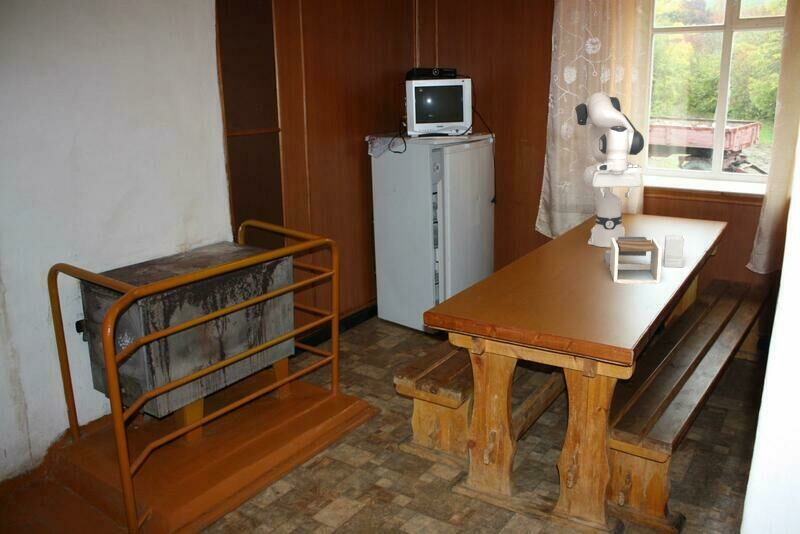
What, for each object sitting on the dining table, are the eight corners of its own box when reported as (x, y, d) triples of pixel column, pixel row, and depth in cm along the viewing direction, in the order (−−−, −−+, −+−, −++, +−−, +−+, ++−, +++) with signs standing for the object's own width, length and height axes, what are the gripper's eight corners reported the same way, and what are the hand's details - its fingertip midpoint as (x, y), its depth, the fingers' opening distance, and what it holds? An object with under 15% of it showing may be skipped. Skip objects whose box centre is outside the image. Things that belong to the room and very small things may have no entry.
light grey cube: (605, 261, 311) (605, 250, 310) (617, 261, 311) (617, 250, 309) (606, 264, 307) (606, 253, 305) (618, 264, 306) (618, 253, 304)
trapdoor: (613, 252, 300) (614, 236, 298) (648, 252, 297) (649, 236, 295) (618, 265, 281) (619, 248, 279) (655, 265, 279) (656, 248, 277)
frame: (609, 268, 300) (610, 237, 296) (652, 269, 296) (654, 237, 292) (614, 283, 281) (615, 249, 277) (660, 283, 277) (662, 249, 273)
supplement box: (681, 263, 303) (683, 235, 300) (682, 268, 296) (684, 239, 293) (663, 262, 305) (665, 234, 302) (663, 267, 299) (665, 238, 295)
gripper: (641, 163, 297) (639, 195, 301) (591, 164, 301) (590, 196, 305) (643, 165, 292) (641, 198, 295) (593, 166, 295) (591, 198, 299)
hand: (615, 197), depth 300 cm, fingers open, 8 cm apart
